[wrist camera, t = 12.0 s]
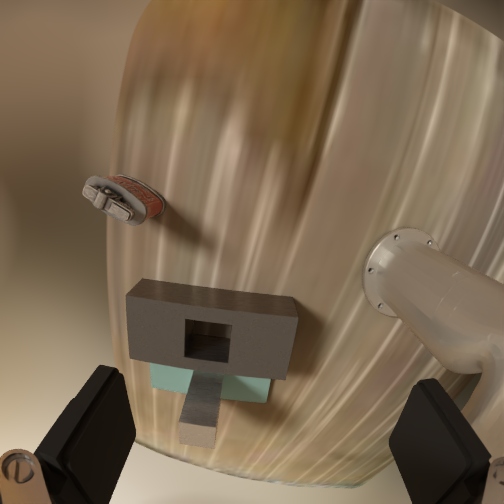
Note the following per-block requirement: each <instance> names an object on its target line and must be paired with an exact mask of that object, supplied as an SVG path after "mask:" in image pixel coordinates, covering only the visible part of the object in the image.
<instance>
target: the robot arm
mask: <svg viewBox="0 0 504 504" xmlns="http://www.w3.org/2000/svg"><path fill="white" fill-rule="evenodd" d="M394 236H395V238H394ZM369 268H370V270H369ZM368 270H369V271H368ZM362 282H363V289H364V292H365V295H366V297H367V299H368V301H369V302H370V303H371V305H372V306H373V307H374V308H375V309H376V310H377V311H379V312H380V313H382V314H384V315H388V316H392V317H399V318H400V319H401V320H402V321H403V322H404V324H405V325H406V326H407V327H408V328H409V329H410V330H411V331H412V332H413V333H414V335H415V336H416V337H417V338H418V339H419V340H420V341H421V342H422V343H423V345H424V346H425V347H426V348H427V349H428V350H429V351H430V352H431V354H432V355H433V356H434V357H435V358H436V359H437V360H438V361H439V362H440V363H441V364H442V365H443V366H444V367H445V368H447V369H448V370H450V371H452V372H455V373H459V374H474V373H481V372H482V376H481V379H480V381H479V383H478V385H477V386H476V388H475V390H474V391H473V393H472V395H471V397H470V399H469V400H468V402H467V404H466V405H465V407H464V408H463V409H462V411H460V410H459V409H458V407H457V406H456V405H455V403H454V402H453V401H452V399H451V398H450V396H449V395H448V394H447V393H446V391H445V390H444V389H443V387H442V386H441V385H440V383H439V382H438V381H437V380H436V379H434V378H432V379H424V380H419V381H418V382H417V384H416V385H414V386H413V388H412V390H411V393H410V395H409V397H408V400H407V402H406V404H405V407H404V409H403V411H402V413H401V415H400V417H399V420H398V422H397V424H396V426H395V428H394V430H393V432H392V434H391V436H390V438H389V447H390V449H391V452H392V454H393V457H394V459H395V461H396V464H397V466H398V469H399V471H400V473H401V476H402V478H403V481H404V483H405V486H406V488H407V491H408V493H409V496H410V498H411V501H412V504H504V284H502V283H500V282H498V281H496V280H494V279H492V278H491V277H489V276H487V275H485V274H483V273H481V272H479V271H477V270H475V269H473V268H471V267H469V266H468V265H466V264H464V263H462V262H460V261H458V260H456V259H454V258H452V257H450V256H448V255H445V254H443V253H441V252H440V250H439V248H438V245H437V244H436V242H435V241H434V239H433V238H432V237H431V236H430V235H428V234H427V233H425V232H424V231H421V230H419V229H416V228H410V227H407V228H399V229H396V230H393V231H391V232H389V233H387V234H386V235H385V236H383V237H382V238H381V239H380V240H379V241H378V242H377V243H376V244H375V245H374V246H373V248H372V249H371V251H370V252H369V254H368V257H367V259H366V261H365V265H364V268H363V276H362ZM135 437H136V428H135V424H134V420H133V416H132V412H131V408H130V404H129V399H128V395H127V390H126V385H125V380H124V376H123V374H121V373H119V370H118V369H117V368H114V367H109V366H104V365H99V366H98V367H97V368H96V370H95V371H94V373H93V374H92V375H91V377H90V378H89V379H88V381H87V382H86V383H85V385H84V386H83V387H82V389H81V390H80V392H79V393H78V394H77V396H76V397H75V398H73V399H72V400H71V401H70V402H69V404H68V405H67V406H66V408H65V409H64V411H63V412H62V414H61V415H60V416H59V417H58V419H57V420H56V422H55V423H54V425H53V426H52V427H51V429H50V430H49V432H48V433H47V435H46V436H45V437H44V439H43V440H42V442H41V443H40V445H39V446H38V448H37V449H36V451H35V452H34V454H32V453H31V452H29V451H27V450H23V449H13V450H9V451H7V452H6V453H4V454H3V455H2V456H1V457H0V504H109V502H110V499H111V497H112V494H113V492H114V489H115V487H116V484H117V482H118V479H119V477H120V474H121V472H122V469H123V467H124V464H125V462H126V459H127V457H128V455H129V452H130V450H131V447H132V445H133V443H134V440H135Z"/></svg>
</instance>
